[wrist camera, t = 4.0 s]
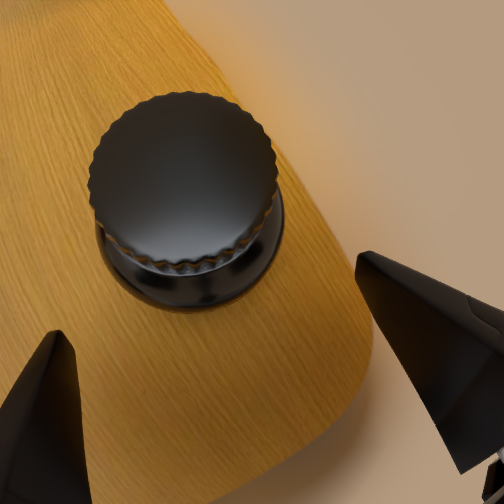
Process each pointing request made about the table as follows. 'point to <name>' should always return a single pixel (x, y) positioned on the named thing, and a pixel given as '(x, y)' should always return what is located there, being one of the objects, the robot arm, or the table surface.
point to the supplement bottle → (186, 202)
